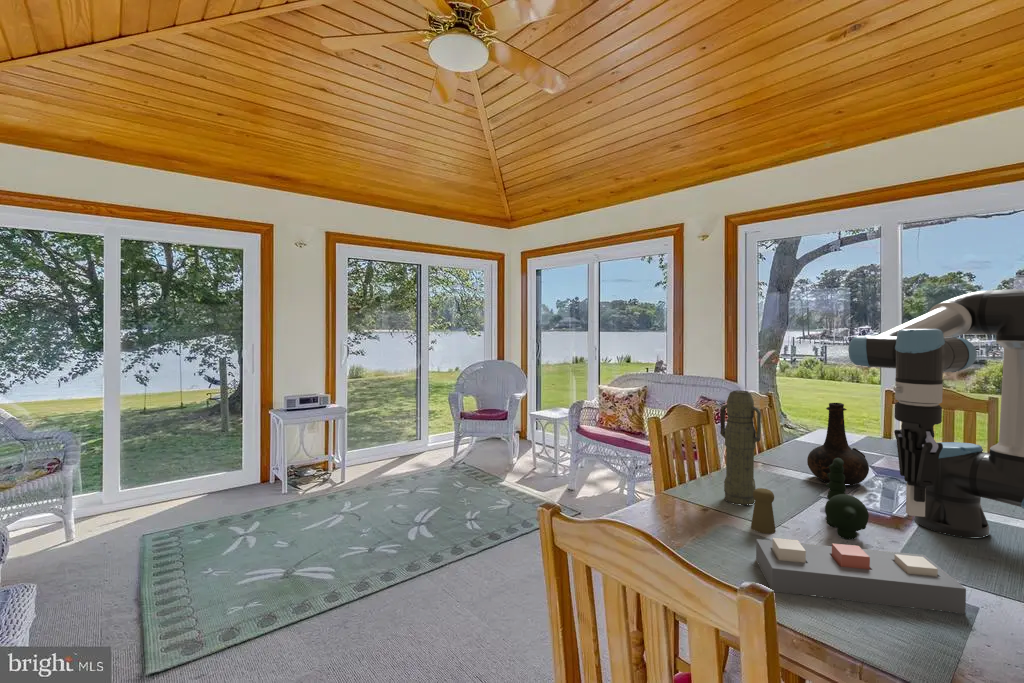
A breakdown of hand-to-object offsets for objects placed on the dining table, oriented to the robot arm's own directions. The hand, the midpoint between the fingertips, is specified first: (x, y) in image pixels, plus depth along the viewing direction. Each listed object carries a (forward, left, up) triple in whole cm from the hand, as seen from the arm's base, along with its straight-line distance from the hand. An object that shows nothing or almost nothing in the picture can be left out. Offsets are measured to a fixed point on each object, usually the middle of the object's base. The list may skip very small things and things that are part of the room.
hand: (915, 514), depth 101 cm
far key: (+24, 0, -13) cm, 27 cm away
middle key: (+12, 0, -13) cm, 17 cm away
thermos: (+25, -47, -17) cm, 56 cm away
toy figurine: (+2, -31, -17) cm, 35 cm away
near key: (0, 0, -14) cm, 14 cm away
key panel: (+12, 0, -16) cm, 20 cm away
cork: (+23, -26, -17) cm, 38 cm away
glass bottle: (-12, -74, -17) cm, 77 cm away
